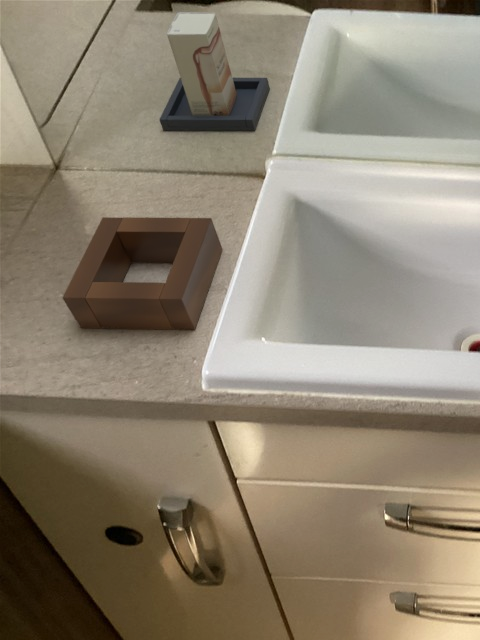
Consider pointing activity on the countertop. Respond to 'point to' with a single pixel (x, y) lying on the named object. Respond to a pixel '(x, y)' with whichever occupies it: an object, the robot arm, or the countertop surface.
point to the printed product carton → (202, 63)
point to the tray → (240, 118)
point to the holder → (140, 297)
